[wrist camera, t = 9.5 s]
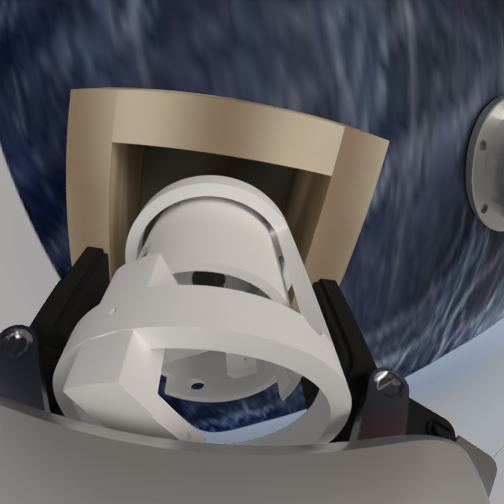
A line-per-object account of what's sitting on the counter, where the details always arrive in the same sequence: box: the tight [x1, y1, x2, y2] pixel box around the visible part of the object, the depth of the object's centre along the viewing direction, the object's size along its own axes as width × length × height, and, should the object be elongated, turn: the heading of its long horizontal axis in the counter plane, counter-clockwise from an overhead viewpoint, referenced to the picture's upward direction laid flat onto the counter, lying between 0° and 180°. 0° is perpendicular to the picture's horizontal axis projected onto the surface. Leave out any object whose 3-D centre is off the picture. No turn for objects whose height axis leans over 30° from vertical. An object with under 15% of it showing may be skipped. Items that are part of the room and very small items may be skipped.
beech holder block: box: [66, 87, 389, 354], centre depth 16 cm, size 13×13×7 cm
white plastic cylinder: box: [53, 175, 352, 446], centre depth 12 cm, size 7×7×15 cm
